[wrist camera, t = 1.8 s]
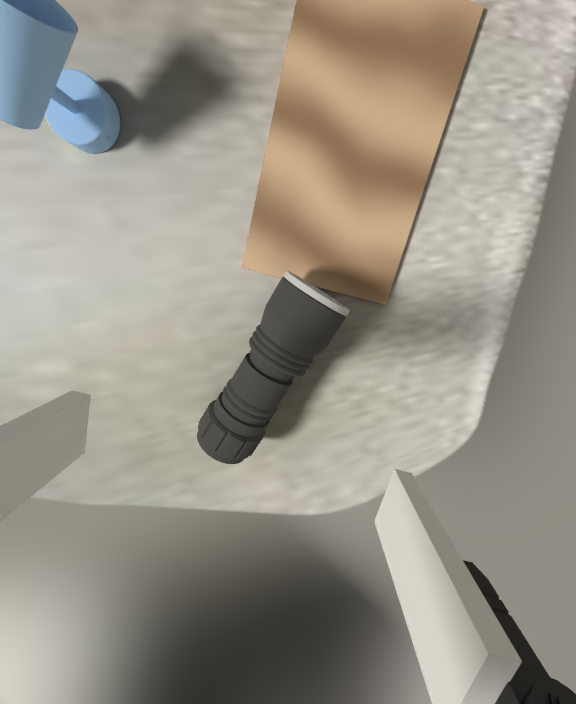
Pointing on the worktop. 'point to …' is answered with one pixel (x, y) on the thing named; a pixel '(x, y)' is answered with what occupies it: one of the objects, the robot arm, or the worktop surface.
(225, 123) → the worktop surface
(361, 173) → the mat
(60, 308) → the worktop surface
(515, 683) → the robot arm
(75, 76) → the spotlight
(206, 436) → the flashlight
